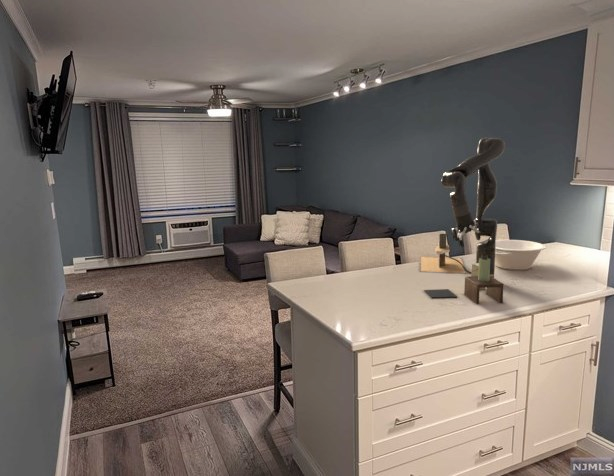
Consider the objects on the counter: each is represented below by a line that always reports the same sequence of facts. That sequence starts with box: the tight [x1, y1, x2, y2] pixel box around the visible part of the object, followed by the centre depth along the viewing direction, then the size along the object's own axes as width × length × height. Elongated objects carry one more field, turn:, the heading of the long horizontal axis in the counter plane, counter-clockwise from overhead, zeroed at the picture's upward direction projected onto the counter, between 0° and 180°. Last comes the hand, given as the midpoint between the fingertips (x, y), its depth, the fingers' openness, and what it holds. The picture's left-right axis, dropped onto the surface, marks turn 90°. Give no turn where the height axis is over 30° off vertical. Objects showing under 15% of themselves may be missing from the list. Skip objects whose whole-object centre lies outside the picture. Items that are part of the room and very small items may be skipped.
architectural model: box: [420, 230, 467, 274], centre depth 265 cm, size 38×25×20 cm, turn 165°
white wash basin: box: [495, 239, 547, 271], centre depth 255 cm, size 44×34×14 cm
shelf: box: [463, 275, 505, 305], centre depth 199 cm, size 14×12×9 cm
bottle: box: [478, 254, 490, 282], centre depth 197 cm, size 5×5×12 cm
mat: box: [424, 288, 458, 299], centre depth 208 cm, size 12×12×1 cm
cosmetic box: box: [470, 262, 486, 291], centre depth 215 cm, size 6×4×12 cm
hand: (470, 243), depth 205 cm, fingers open, 8 cm apart
